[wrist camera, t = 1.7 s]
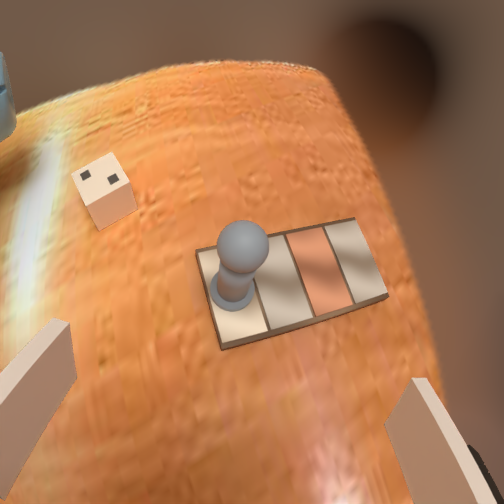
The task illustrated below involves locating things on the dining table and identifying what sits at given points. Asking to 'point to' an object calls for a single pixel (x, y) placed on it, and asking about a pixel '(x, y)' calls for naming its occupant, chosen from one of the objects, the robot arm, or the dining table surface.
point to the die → (105, 190)
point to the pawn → (238, 264)
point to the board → (299, 282)
